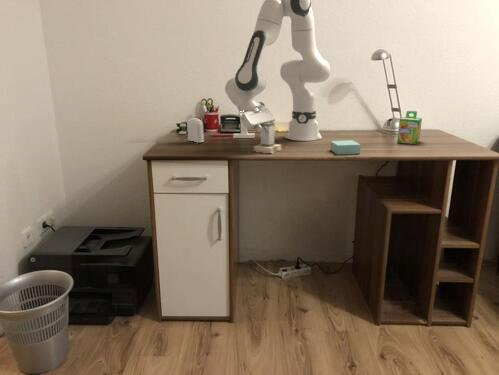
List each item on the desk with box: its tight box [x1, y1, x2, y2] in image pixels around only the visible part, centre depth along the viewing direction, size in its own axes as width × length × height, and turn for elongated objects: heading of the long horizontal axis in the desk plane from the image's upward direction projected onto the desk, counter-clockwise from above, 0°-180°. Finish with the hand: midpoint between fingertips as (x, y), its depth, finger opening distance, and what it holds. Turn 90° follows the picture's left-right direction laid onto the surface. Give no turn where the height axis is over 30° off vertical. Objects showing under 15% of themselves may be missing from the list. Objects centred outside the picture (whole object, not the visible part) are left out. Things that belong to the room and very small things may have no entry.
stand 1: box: [253, 143, 282, 154], centre depth 193 cm, size 9×9×2 cm
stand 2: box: [330, 139, 361, 155], centre depth 188 cm, size 10×10×4 cm
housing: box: [260, 122, 275, 147], centre depth 191 cm, size 4×4×10 cm
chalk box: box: [396, 110, 423, 145], centre depth 204 cm, size 9×9×15 cm
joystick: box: [233, 120, 256, 139], centre depth 222 cm, size 11×8×20 cm
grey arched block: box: [186, 117, 205, 142], centre depth 214 cm, size 10×4×12 cm, turn 39°
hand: (268, 132), depth 190 cm, fingers closed on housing, 4 cm apart
